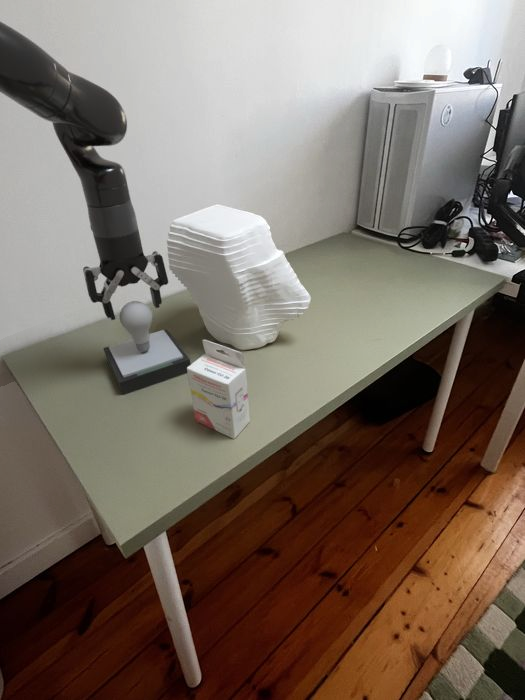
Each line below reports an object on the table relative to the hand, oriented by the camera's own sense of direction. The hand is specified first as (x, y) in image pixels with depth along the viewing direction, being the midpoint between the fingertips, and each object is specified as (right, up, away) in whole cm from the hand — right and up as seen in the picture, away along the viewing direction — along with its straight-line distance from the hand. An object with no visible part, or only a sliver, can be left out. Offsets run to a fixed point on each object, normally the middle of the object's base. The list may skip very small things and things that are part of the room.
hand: (135, 312), depth 83 cm
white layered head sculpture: (+19, -4, +15) cm, 25 cm away
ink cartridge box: (+18, -20, -8) cm, 28 cm away
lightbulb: (0, -8, +5) cm, 9 cm away
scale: (+1, -10, +7) cm, 13 cm away
